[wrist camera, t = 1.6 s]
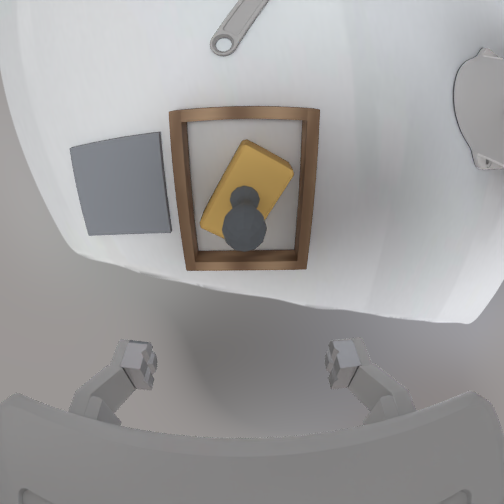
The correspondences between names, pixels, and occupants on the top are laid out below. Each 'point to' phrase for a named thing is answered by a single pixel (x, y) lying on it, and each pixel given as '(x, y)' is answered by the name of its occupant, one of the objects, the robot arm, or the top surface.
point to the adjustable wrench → (237, 24)
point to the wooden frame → (185, 202)
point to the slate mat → (122, 185)
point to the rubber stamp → (246, 196)
